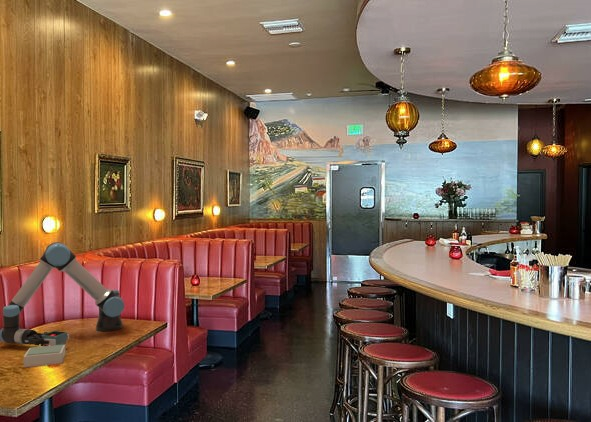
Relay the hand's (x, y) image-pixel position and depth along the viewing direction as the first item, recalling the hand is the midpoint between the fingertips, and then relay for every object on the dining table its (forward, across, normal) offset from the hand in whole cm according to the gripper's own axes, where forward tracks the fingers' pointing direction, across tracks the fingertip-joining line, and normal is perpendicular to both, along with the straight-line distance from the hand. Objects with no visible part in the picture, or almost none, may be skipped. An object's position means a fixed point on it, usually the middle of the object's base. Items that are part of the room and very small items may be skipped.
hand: (61, 339), depth 247 cm
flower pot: (-5, 0, -6) cm, 8 cm away
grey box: (+3, +14, -6) cm, 16 cm away
